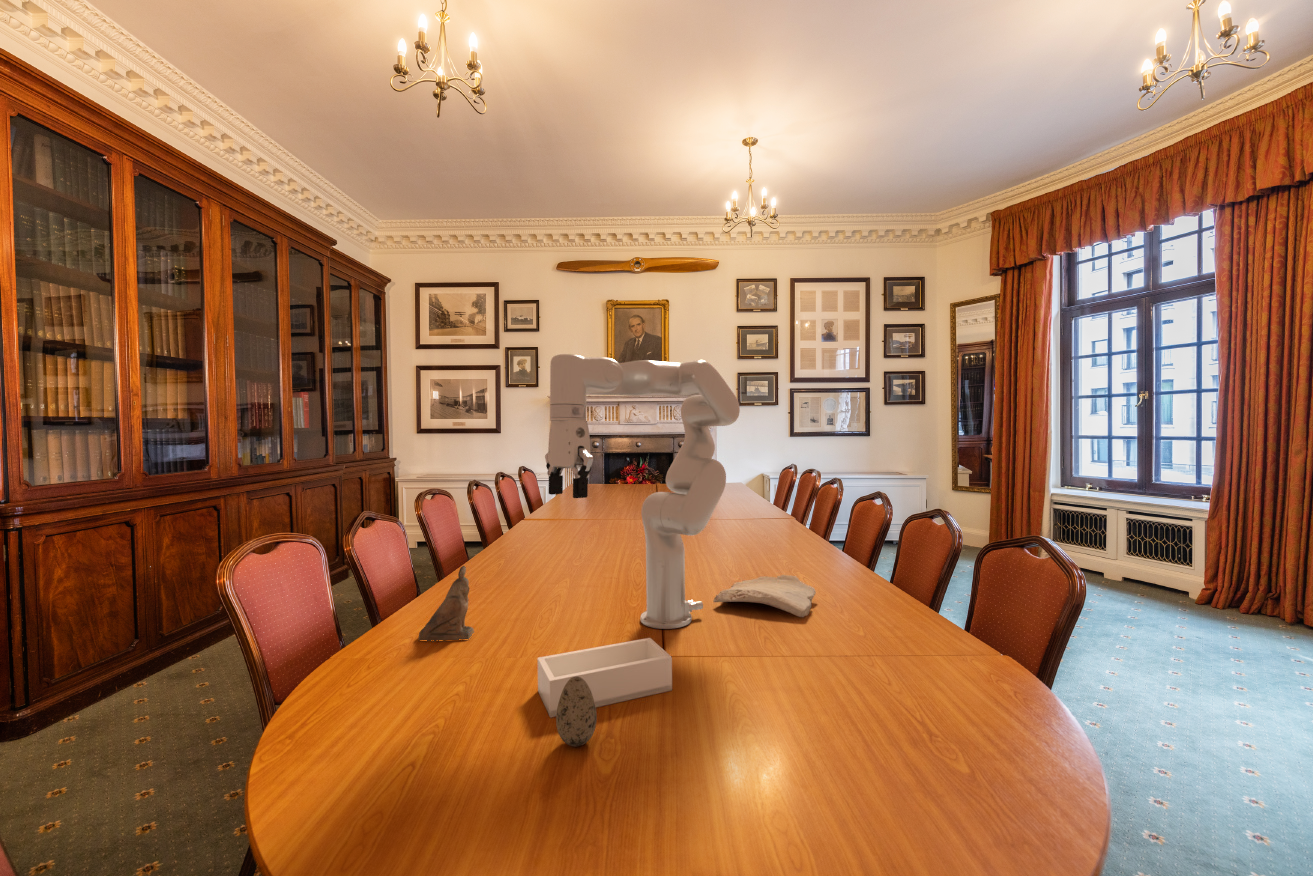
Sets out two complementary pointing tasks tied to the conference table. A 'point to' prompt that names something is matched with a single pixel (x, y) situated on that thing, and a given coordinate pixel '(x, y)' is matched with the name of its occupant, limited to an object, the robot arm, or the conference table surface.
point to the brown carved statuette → (450, 614)
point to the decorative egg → (576, 713)
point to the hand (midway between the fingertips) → (567, 495)
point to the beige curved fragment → (772, 593)
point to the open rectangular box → (607, 672)
